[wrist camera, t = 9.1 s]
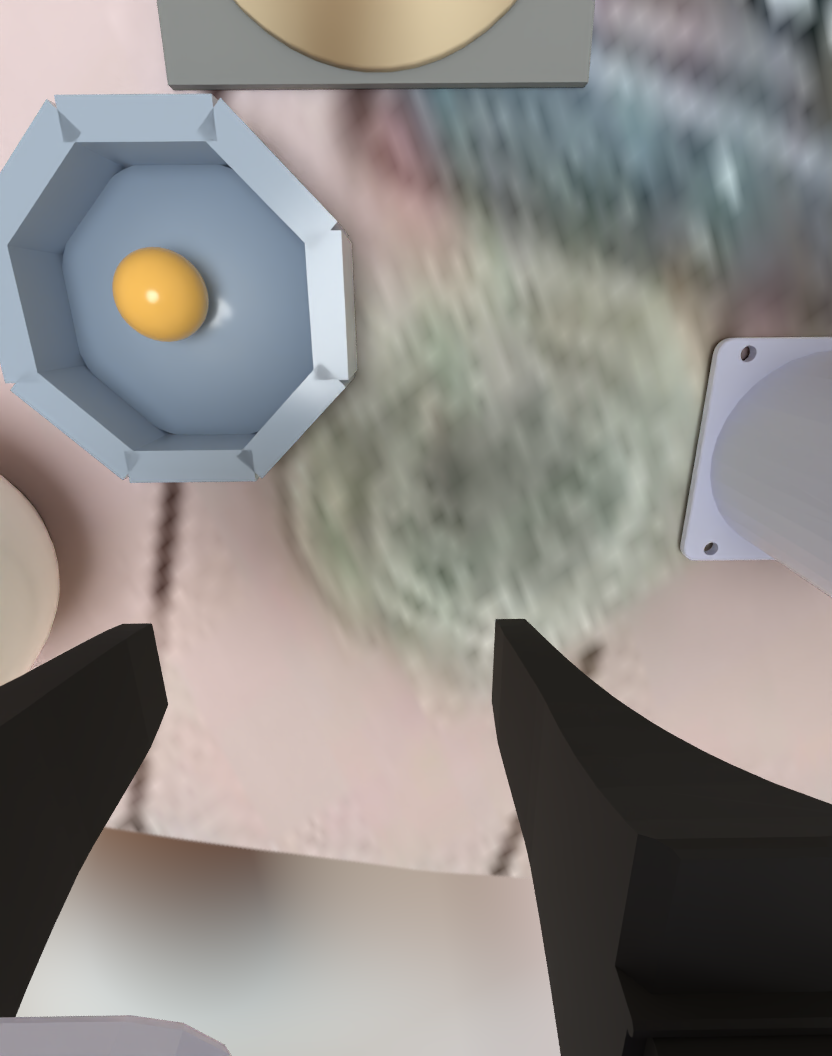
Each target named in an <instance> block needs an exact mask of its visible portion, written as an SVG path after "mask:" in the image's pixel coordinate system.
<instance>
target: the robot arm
mask: <svg viewBox="0 0 832 1056" xmlns="http://www.w3.org/2000/svg"><path fill="white" fill-rule="evenodd" d="M746 346H748V347H749V349H750V354H749V356H748V358H746V359H745V360H742V359H741V355H740V354H741V351H742V349H744V348H745V347H746ZM711 542H713V546H712V548H711V549H709V550H708V551H704V548H705V546H706V545H707V544H708V543H711ZM680 549H681V552H682V554H683V555H684V556H685V557H687V558H688V559H690V560H694V561H709V560H777V561H778V562H780V563H781V564H783V565H784V566H786V567H787V568H788V569H790V570H791V571H793V572H794V573H796V574H797V575H799V576H800V577H802V578H803V579H805V580H806V581H808V582H809V583H811V584H812V585H814V586H815V587H817V588H818V589H819V590H821V591H822V592H824V593H825V594H827V595H828V596H830V597H831V598H832V337H741V338H726V339H724V340H722V341H721V342H719V343H718V345H717V346H716V347H715V350H714V352H713V357H712V363H711V369H710V375H709V381H708V386H707V392H706V398H705V404H704V410H703V416H702V422H701V427H700V433H699V439H698V445H697V451H696V457H695V463H694V469H693V474H692V480H691V486H690V492H689V498H688V504H687V510H686V515H685V521H684V527H683V533H682V539H681V545H680ZM492 705H493V713H494V720H495V727H496V734H497V740H498V745H499V749H500V753H501V757H502V760H503V764H504V768H505V771H506V775H507V779H508V782H509V786H510V790H511V793H512V797H513V801H514V804H515V808H516V811H517V815H518V819H519V822H520V826H521V830H522V833H523V837H524V841H525V845H526V849H527V853H528V858H529V862H530V866H531V872H532V878H533V884H534V889H535V895H536V900H537V907H538V912H539V918H540V924H541V930H542V937H543V943H544V949H545V955H546V961H547V967H548V974H549V980H550V985H551V993H552V999H553V1005H554V1013H555V1019H556V1026H557V1033H558V1039H559V1046H560V1053H561V1056H832V804H829V803H826V802H824V801H821V800H818V799H816V798H813V797H810V796H807V795H805V794H802V793H799V792H796V791H794V790H791V789H788V788H786V787H783V786H780V785H777V784H775V783H772V782H770V781H768V780H765V779H763V778H761V777H758V776H756V775H754V774H752V773H749V772H747V771H745V770H742V769H740V768H738V767H736V766H733V765H731V764H729V763H727V762H725V761H723V760H721V759H719V758H716V757H714V756H712V755H710V754H708V753H706V752H704V751H702V750H700V749H698V748H697V747H695V746H693V745H691V744H689V743H687V742H685V741H684V740H682V739H680V738H678V737H676V736H674V735H672V734H671V733H669V732H667V731H666V730H664V729H662V728H660V727H659V726H657V725H655V724H654V723H652V722H651V721H649V720H647V719H646V718H644V717H643V716H641V715H640V714H638V713H637V712H635V711H634V710H632V709H630V708H629V707H627V706H626V705H624V704H623V703H622V702H620V701H619V700H617V699H616V698H615V697H613V696H612V695H611V694H609V693H608V692H607V691H605V690H604V689H603V688H602V687H600V686H599V685H598V684H596V683H595V682H594V681H592V680H591V679H590V678H589V677H588V676H586V675H585V674H584V673H583V672H582V671H580V670H579V669H578V668H577V667H576V666H574V665H573V664H572V663H571V662H570V661H569V660H568V659H567V658H565V657H564V656H563V655H562V654H561V653H560V652H559V651H558V650H557V649H556V648H555V647H554V646H552V645H551V644H550V643H549V642H548V641H547V640H546V639H545V638H544V637H543V636H542V635H541V634H540V633H539V632H538V631H537V630H536V629H535V628H534V627H533V626H532V625H531V624H530V623H529V622H527V621H526V620H525V619H496V621H495V643H494V664H493V685H492ZM167 706H168V702H167V697H166V692H165V686H164V681H163V676H162V671H161V666H160V661H159V656H158V651H157V646H156V641H155V636H154V631H153V626H152V624H121V625H119V626H116V627H114V628H112V629H109V630H107V631H105V632H103V633H101V634H99V635H97V636H95V637H93V638H91V639H89V640H87V641H85V642H84V643H82V644H80V645H78V646H76V647H74V648H72V649H70V650H69V651H67V652H65V653H63V654H61V655H59V656H57V657H56V658H54V659H52V660H50V661H48V662H46V663H44V664H42V665H41V666H39V667H37V668H35V669H33V670H31V671H29V672H27V673H26V674H24V675H22V676H20V677H18V678H16V679H14V680H12V681H10V682H8V683H6V684H4V685H2V686H0V1056H232V1055H231V1054H230V1052H229V1050H228V1049H227V1047H226V1046H225V1045H224V1044H222V1043H220V1042H219V1041H217V1040H215V1039H213V1038H211V1037H209V1036H207V1035H205V1034H203V1033H201V1032H200V1031H198V1030H196V1029H194V1028H192V1027H190V1026H188V1025H186V1024H184V1023H180V1022H173V1021H166V1020H158V1019H152V1018H145V1017H138V1016H131V1015H126V1016H125V1015H124V1016H66V1017H63V1016H62V1017H16V1014H17V1012H18V1009H19V1007H20V1004H21V1002H22V999H23V996H24V994H25V992H26V989H27V987H28V984H29V982H30V980H31V977H32V975H33V973H34V970H35V968H36V966H37V963H38V961H39V959H40V956H41V954H42V952H43V950H44V947H45V945H46V943H47V940H48V938H49V936H50V934H51V931H52V929H53V927H54V924H55V922H56V920H57V918H58V916H59V914H60V912H61V909H62V907H63V905H64V903H65V901H66V899H67V897H68V894H69V892H70V890H71V888H72V886H73V884H74V881H75V879H76V877H77V875H78V873H79V871H80V869H81V867H82V866H83V864H84V862H85V860H86V858H87V856H88V854H89V852H90V851H91V849H92V847H93V845H94V844H95V842H96V840H97V839H98V837H99V835H100V833H101V832H102V830H103V828H104V827H105V825H106V823H107V822H108V820H109V818H110V817H111V815H112V813H113V811H114V810H115V808H116V806H117V805H118V803H119V801H120V800H121V798H122V796H123V795H124V793H125V791H126V789H127V788H128V786H129V784H130V783H131V781H132V779H133V777H134V776H135V774H136V772H137V771H138V769H139V767H140V765H141V764H142V762H143V760H144V758H145V757H146V755H147V753H148V751H149V749H150V748H151V745H152V743H153V741H154V738H155V736H156V734H157V731H158V729H159V727H160V724H161V721H162V719H163V716H164V714H165V711H166V709H167Z"/></svg>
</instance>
